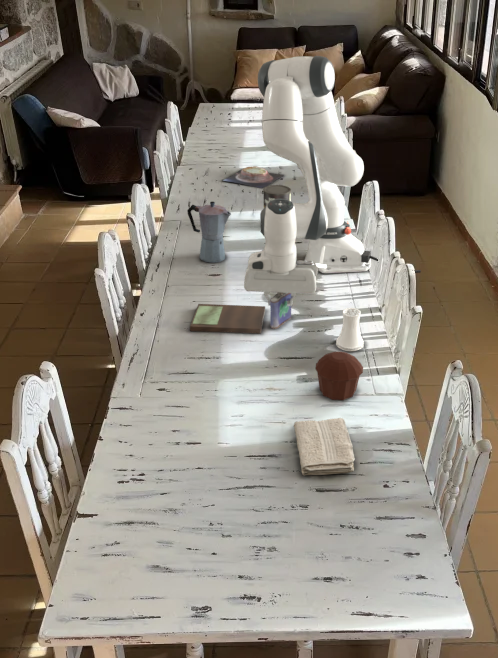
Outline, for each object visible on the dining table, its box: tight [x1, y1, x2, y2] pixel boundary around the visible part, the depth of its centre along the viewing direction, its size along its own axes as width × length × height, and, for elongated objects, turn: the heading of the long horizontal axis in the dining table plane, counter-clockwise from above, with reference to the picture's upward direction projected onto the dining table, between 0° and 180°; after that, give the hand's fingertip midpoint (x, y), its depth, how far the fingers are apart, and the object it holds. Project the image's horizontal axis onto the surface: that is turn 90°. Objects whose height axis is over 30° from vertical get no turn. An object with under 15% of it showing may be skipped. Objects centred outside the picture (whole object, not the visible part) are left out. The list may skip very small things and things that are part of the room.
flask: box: [269, 292, 292, 330], centre depth 207 cm, size 9×3×11 cm, turn 147°
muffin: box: [315, 350, 364, 401], centre depth 178 cm, size 12×11×10 cm
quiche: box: [222, 165, 284, 189], centre depth 321 cm, size 21×20×4 cm
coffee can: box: [262, 184, 292, 209], centre depth 270 cm, size 10×10×14 cm
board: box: [189, 303, 266, 335], centre depth 210 cm, size 20×14×2 cm
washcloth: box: [293, 417, 356, 476], centre depth 160 cm, size 12×18×3 cm, turn 7°
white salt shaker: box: [335, 307, 365, 352], centre depth 197 cm, size 8×8×10 cm
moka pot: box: [186, 201, 232, 264], centre depth 243 cm, size 10×15×20 cm, turn 78°
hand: (280, 305), depth 207 cm, fingers closed on flask, 4 cm apart
